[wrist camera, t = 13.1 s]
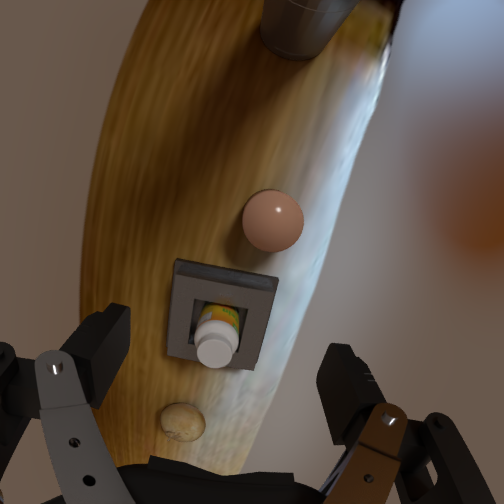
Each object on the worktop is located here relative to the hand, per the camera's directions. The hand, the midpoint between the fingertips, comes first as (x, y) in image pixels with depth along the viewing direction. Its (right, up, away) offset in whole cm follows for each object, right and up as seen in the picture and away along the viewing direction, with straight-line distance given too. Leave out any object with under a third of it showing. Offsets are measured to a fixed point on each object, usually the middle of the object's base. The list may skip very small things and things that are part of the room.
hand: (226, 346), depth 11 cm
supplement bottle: (-4, -5, +30) cm, 31 cm away
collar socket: (-4, -5, +31) cm, 32 cm away
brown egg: (+3, +8, +28) cm, 29 cm away
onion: (-11, -25, +37) cm, 46 cm away
